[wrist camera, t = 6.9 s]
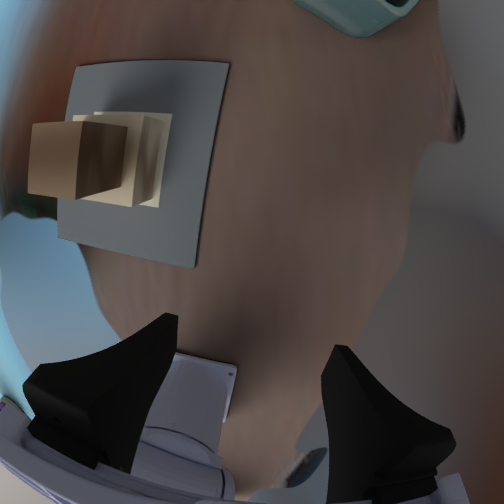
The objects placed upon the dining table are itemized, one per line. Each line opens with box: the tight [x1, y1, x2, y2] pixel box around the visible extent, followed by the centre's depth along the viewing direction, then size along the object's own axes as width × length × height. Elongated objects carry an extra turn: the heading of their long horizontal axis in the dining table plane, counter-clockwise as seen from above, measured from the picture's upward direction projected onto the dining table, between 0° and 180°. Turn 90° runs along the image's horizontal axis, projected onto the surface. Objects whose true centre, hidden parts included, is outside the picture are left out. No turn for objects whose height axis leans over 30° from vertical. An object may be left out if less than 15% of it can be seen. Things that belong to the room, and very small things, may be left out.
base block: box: [73, 115, 163, 207], centre depth 18 cm, size 6×6×4 cm
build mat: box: [57, 60, 230, 269], centre depth 20 cm, size 16×14×1 cm
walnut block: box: [28, 121, 128, 200], centre depth 14 cm, size 4×4×5 cm
